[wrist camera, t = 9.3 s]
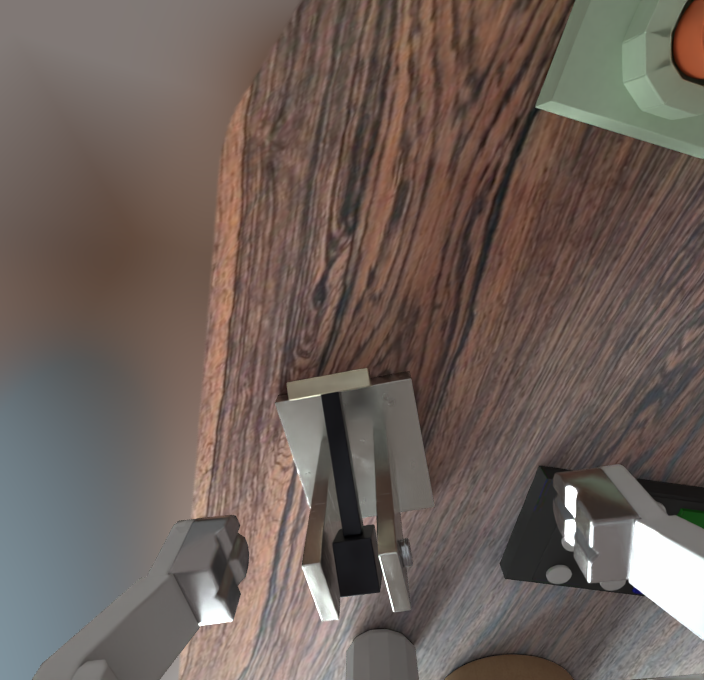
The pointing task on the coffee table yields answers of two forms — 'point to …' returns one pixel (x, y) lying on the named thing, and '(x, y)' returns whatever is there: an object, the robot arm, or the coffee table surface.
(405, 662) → the water bottle
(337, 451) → the lever
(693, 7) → the button
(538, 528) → the remote control
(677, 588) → the robot arm
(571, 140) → the coffee table surface
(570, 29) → the button box
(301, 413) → the bracket
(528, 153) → the coffee table surface
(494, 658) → the vase
